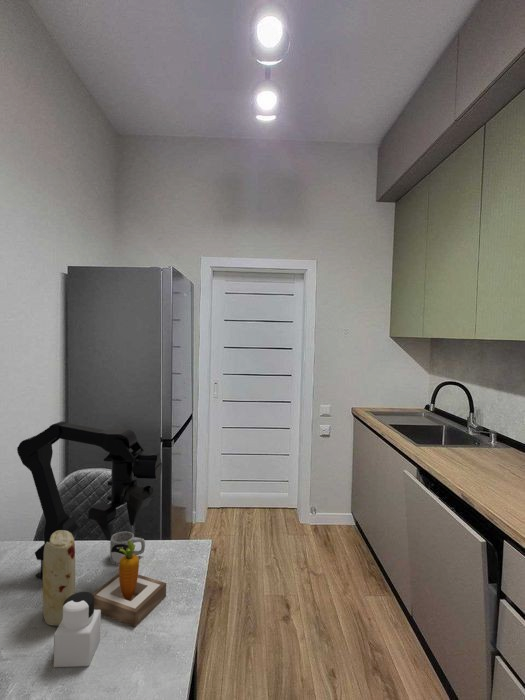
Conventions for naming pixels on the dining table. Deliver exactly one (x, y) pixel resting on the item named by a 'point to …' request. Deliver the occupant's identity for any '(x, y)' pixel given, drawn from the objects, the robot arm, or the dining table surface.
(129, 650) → the dining table surface
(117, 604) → the walnut box
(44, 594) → the food model
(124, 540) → the mug
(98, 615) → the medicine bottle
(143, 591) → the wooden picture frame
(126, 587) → the carrot
